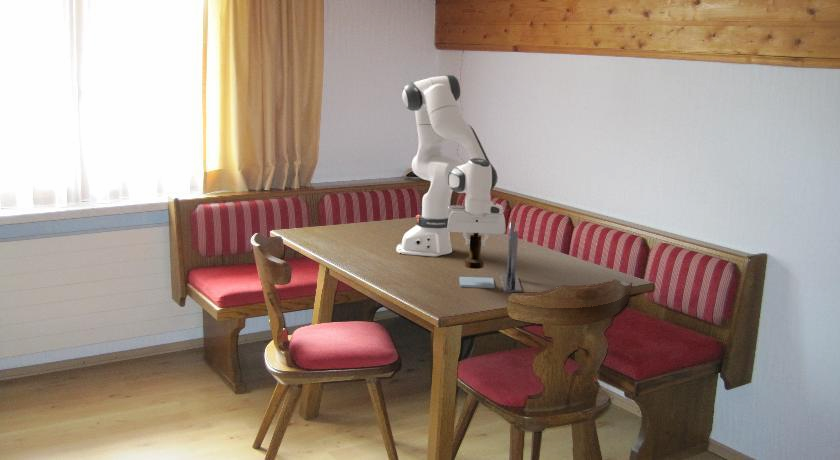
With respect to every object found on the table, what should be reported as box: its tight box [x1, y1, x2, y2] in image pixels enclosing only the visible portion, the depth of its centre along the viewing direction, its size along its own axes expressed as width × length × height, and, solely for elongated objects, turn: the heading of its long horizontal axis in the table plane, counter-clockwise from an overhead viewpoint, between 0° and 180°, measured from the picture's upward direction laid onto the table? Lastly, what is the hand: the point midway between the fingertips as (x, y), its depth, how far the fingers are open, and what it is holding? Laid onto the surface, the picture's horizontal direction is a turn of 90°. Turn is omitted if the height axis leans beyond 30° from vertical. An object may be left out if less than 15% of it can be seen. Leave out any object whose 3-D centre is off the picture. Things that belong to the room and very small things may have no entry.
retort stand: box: [499, 221, 523, 294], centre depth 301 cm, size 6×19×21 cm, turn 179°
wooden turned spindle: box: [464, 220, 485, 270], centre depth 299 cm, size 7×6×18 cm
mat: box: [458, 276, 496, 289], centre depth 303 cm, size 12×10×1 cm
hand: (475, 245), depth 300 cm, fingers closed on wooden turned spindle, 4 cm apart
